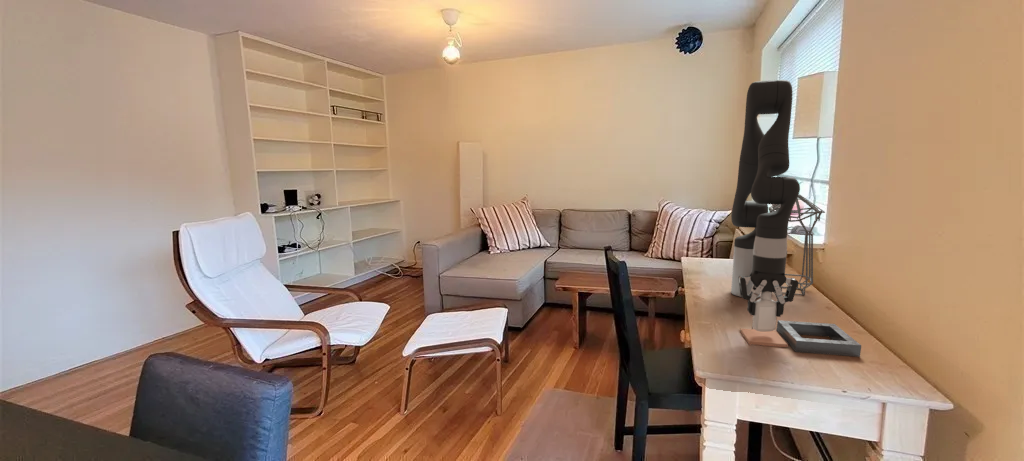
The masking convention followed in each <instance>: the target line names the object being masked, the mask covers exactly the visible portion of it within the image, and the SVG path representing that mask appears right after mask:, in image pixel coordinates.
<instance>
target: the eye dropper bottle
mask: <svg viewBox="0 0 1024 461" xmlns="http://www.w3.org/2000/svg"><path fill="white" fill-rule="evenodd" d="M772 296H773V292H769V291H766V292H761V295H760V298H759V299H757V300H755V301H754V302H755V315H752V324H751V325H752V326H751V329H755V330H756V331H762V332H768V331H776V329H777V316H776V315H777V303H776V301H775V300H773V298H772Z"/></svg>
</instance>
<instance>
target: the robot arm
mask: <svg viewBox="0 0 1024 461" xmlns="http://www.w3.org/2000/svg"><path fill="white" fill-rule="evenodd" d="M746 92H747V93H746V99H745V116H744V128H743V129H744V130H743V137H742V144H741V150H740V156H739V162H738V171H737V172H738V173H737V183H736V190H735V194H734V199H733V203H732V208H731V218H730V220H731V224H732V225H733V226H735V227H738V228H753V230H752V231H750V232H749V233H747V234H743V235H740V236H736V238H734V241H733V242H734V243H733V244H734V245H733V260H732V273H731V274H732V275H731V288H730V292H731V294H732V295H734V296H737V297H740V298H742V300H745V301H746V300H747V308H746V309H747V312H748V313H749V315H750V316H753V315H755V302H756V299H757V298H759V297H760V298H761V292H766V291H769V292H772V293H774V296H775V298H776V301H775V302H776V303H777V315H776V318H777V317H779V318H781V316H783V315H784V312H785V311H784V309H785V308H784V307H785V304H786V303H792V302H793V300H794V299H795V294H796V293H797V292H796V291H797V289H796V288H797V285H798V286H799V284H798V282H799V281H798V280H797V279H795V277H790V278H789V277H787V275H785V274H786V266H787V255H788V234H787V233H788V231H789V230H788V229H789V223H790V222H789V220H790V214H791V215H792V213H791V211H792V210H794V206H795V204H796V200H797V198H798V195H799V194H800V190H801V186H800V182H799V181H798V179H797V178H795V177H793V176H780V175H783V174H785V173H786V172H788V170H789V168H790V152H789V150H790V149H789V148H790V147H789V135H790V129H791V128H790V127H791V121H792V120H791V119H792V107H793V85H792V83H791V81H790V80H788V79H776V80H775V79H774V80H773V79H772V80H761V81H753V82H751V83H750V85H749V86H748V90H747V91H746ZM775 114H777V117H776V119H775V121H774V123H773V124H772V125H771V126H770V127H769V129H768V130H767V131H766V132H765V133H764V132H763V130H762V128H761V126H760V123H759V121H758V116H759V115H775ZM749 196H751V199H752V200H747V199H748V198H749ZM798 199H799V198H798ZM775 204H776V205H777V204H780V205H781V206H780V207H778V208H779V209H778V210H775V211H774V212H769V205H775ZM785 282H786V283H785ZM784 284H786V285H785V286H786V287H787V288H786V290H785V292H784V293H785V294H784V293H782V292H783V291H782V292H781V288H780V287H781V286H784ZM783 294H784V295H783Z"/></svg>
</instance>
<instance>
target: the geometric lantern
mask: <svg viewBox="0 0 1024 461" xmlns="http://www.w3.org/2000/svg"><path fill="white" fill-rule="evenodd" d="M799 200H800V201H802V202H803V203H804V204H806V205H807V206H808V207H804V208H801V206H800V202H799ZM795 204H796V209H792V211H791V214H790V218H789V222H788V223H792V222H793V223H794V222H798V223H799V224H800V225H801V226H802V228H803V229H797V228H796V229H794V228H793V229H792V228H791V229H790V228H788V231H796V233H795V232H787V235H803V236H804V242H803V243H804V245H803V254H802V256H803V257H802V269H801V274H793V273H791V274H790V273H785V276H788V277H789V276H791V277H792V276H793V277H800V279H799V281H798V285H797V288H796V290H800V291H801V293H795V295H796V296H804V295H806V289H808V288H809V287H810V286H811V285H813V284H814V235H815V233H814V232H813V229H814V228H815V225H816V223H818V222H820V221H821V215H822V214H825V213H826V211H825V210H823V209H821V207H819V206H817V205H815V203H813V202H811V201H810V200H808V198H805V197H804V196H803V195H801V194H800V193H799V195H798V198H797V200H796V202H795ZM780 206H781V205H780V204H772V205H771V206H770V207H769V206H768V213H770V212H774V211H776V210H778V209H779V207H780ZM804 210H805V212H801V211H804ZM811 210H813V211H811ZM792 214H797V216H795V215H794V216H793V215H792ZM804 215H806V216H804ZM802 216H804V217H802ZM812 216H813V217H814V221H813V223H812V225H811V228H810V229H807V228H806V226H805V224H804V222H803V220H805V219H808V218H810V217H812ZM797 231H799V232H800V231H801V232H802V231H804V233H797ZM804 273H805V275H804ZM803 277H804V278H805V280H803V282H801V281H802V279H803ZM808 281H810V282H808ZM784 284H786V282H785V283H784ZM787 287H788V286H784V285H782V286H781V287H780V289H781V292H782V294H784V295H785V293H786V292H783V289H787ZM795 295H794V296H795Z"/></svg>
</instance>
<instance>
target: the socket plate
mask: <svg viewBox="0 0 1024 461" xmlns="http://www.w3.org/2000/svg"><path fill="white" fill-rule="evenodd" d="M776 331H777V333H778V334H779V335H780V336H781V337H782V338H783V340H784V341H785V342H786V343H787V344H788V345H789V346H790V347H791V348H792V350H793V351H794V352H795V353H803V354H804V353H805V354H806V353H807V354H817V355H818V354H819V355H830V356H831V355H832V356H843V357H844V356H845V357H856V358H860V357H861V352H862V345H861V343H859V342H858V341H857V340H855V338H854V337H852V336H850V335H849V334H848V333H846V332H845V331H844V330H843V329H842V328H840V327H839V326H838V325H837V324H835V323H827V322H826V323H825V322H814V321H813V322H810V321H808V322H807V321H796V320H794V321H793V320H781V319H780V320H777V321H776ZM801 335H802V336H803V335H804V336H815V337H816V336H817V337H828V338H830V339H823V338H821V339H819V338H809V337H808V338H807V337H806V338H805V337H802V336H801Z"/></svg>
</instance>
